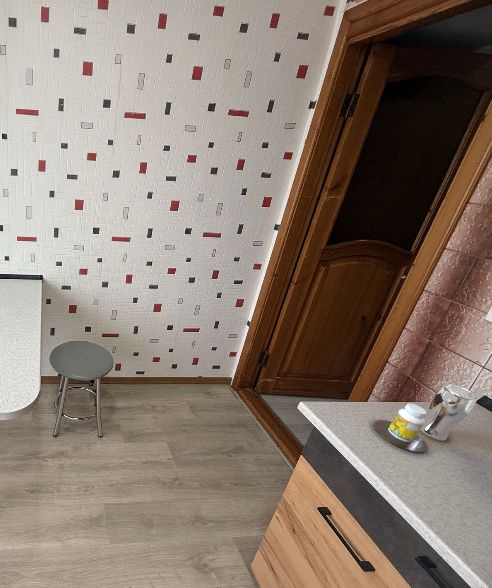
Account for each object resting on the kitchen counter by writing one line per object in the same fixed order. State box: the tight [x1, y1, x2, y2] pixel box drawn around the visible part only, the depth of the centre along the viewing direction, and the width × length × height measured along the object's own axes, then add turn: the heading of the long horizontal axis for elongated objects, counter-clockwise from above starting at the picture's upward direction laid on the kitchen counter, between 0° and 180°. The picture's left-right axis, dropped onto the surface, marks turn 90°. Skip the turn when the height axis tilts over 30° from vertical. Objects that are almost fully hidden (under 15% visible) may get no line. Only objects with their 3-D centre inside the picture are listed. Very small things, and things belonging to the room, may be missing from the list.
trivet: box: [373, 419, 427, 454], centre depth 92 cm, size 11×11×1 cm
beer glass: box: [419, 382, 479, 442], centre depth 92 cm, size 7×7×15 cm
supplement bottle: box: [388, 403, 428, 442], centre depth 90 cm, size 5×5×10 cm
